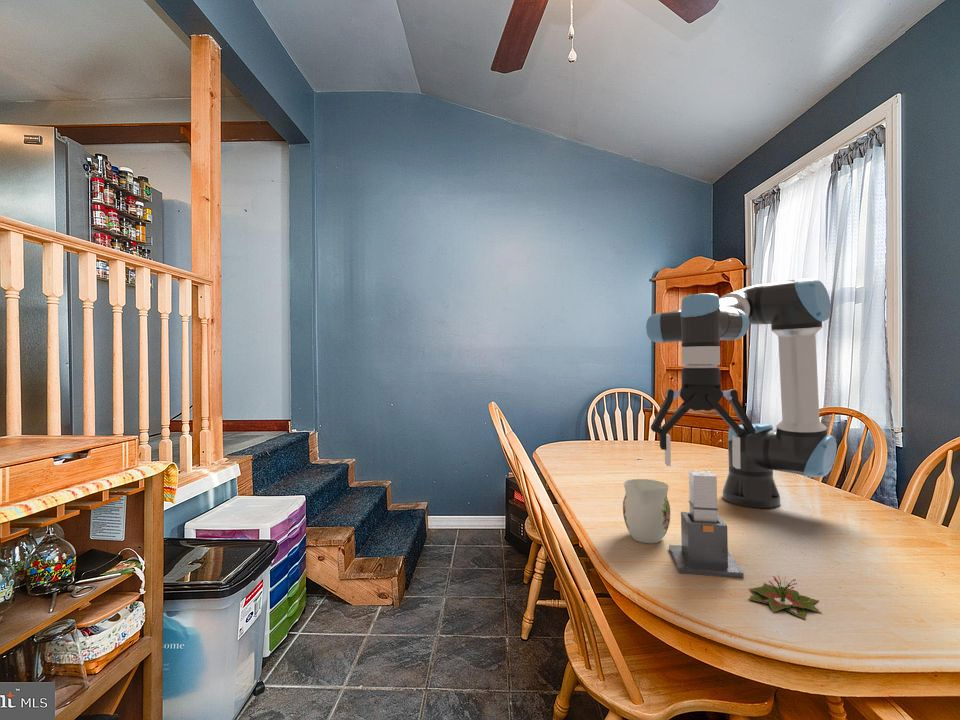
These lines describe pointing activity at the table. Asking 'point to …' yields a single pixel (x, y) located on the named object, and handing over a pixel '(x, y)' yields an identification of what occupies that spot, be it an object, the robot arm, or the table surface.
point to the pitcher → (646, 509)
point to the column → (703, 496)
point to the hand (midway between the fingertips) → (701, 466)
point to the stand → (704, 549)
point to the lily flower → (783, 598)
